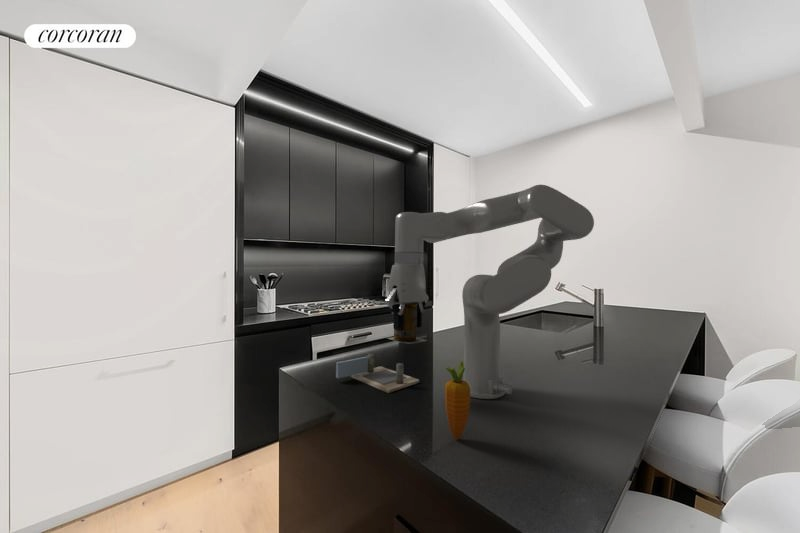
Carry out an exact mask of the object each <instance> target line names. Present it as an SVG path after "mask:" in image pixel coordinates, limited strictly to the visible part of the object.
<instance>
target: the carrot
mask: <svg viewBox="0 0 800 533" xmlns="http://www.w3.org/2000/svg"><path fill="white" fill-rule="evenodd" d="M445 369H446V371H448V372H449V374H450V376H451V377H452V379H451V380H449V381H447V382H446V383H445V385H444V391H445V393H444V397H445V398H444V400H445V401H444V402H445V403H444V404H445V412H446V417H447V423H448V425H449V430H450V432H451V434H452V436H453V438H454V440H456V441H458V440H459V439H460V438H461V436H462V435H463V433H464V431H465V428H466V426H467V423H468V419H469V414H470V406H471V405H470V404H471V397H470V386H469V385H468V383H467V382H466V381H463V376H464V370H465V368H464V361H461V360H460V361H458V370H457V371H456V369H455V367H453V366H452V367H450V366H446V367H445Z"/></svg>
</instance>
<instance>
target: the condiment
mask: <svg viewBox="0 0 800 533" xmlns="http://www.w3.org/2000/svg"><path fill="white" fill-rule="evenodd" d="M399 306H400V305H398V308H399ZM402 315H404V330H403V331H400V330H395V329H394V328H393V337H391V336H390V337H387V339H388V340H391V341H395V342H399V343H402V344H406V345H408V344H409V345H410V344H417V343H418V344H420V343H422V342H427V341H429V340H427V339H424V338H421V337H418V336H417V335H418V332H417V331H418V327H417V304H416V302H412V303H408V304H405V306H404V310H403V313H402Z"/></svg>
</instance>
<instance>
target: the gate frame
mask: <svg viewBox="0 0 800 533" xmlns="http://www.w3.org/2000/svg"><path fill="white" fill-rule="evenodd" d="M366 357H368V372H364V373H360V374H355V375H351V376H350V378H353V379H354V380H357V381H359V382H362V383H363V384H366V385H369V386H371V387H373V388H376V389H378V390H380V391H383V392H386V393H387V394H389V393H393V392H396V391H399V390H401V389H404V388H407V387H410V386H412V385H416V384H418V383H420V379H418V378H416V377H413V376H410V375H406V374H404V363H399V362H397V363H396V364H395V365H396V366H395V367H396V369H395V370H393V369H390V368H386V367H384V366H377V367H375V354H374V353H369V354H367V356H366Z"/></svg>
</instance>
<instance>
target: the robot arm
mask: <svg viewBox="0 0 800 533" xmlns="http://www.w3.org/2000/svg"><path fill="white" fill-rule="evenodd" d="M537 219H541V220H540V222H539V224H538V228H537V237H536V240H535V241H534V243H533V244H531V245H530V246H528V247H527V248H525V249H524V250H522V251H520V252H518V253H517V254H514V255H512V256H510V257H509V258H507V259H505V260H503V261H502V263H501V264H500V265H499V266H498V268H497V271H496V274H494V275H493V274H476V275H473V276H471V277H470V278H468V279H467V281H465V283H464V285H463V288H462V295H461V297H462V305H463V307H462V308H463V314H464V315H463V316H464V317H463V318H464V324H463V325H464V329H463V330H464V332H463V334H464V335H463V367H464V368H465V370H464V373H463V376H462V380H463V381H466V382H467V383H468V385H469V386H470V398H474V399H481V400H493V399H499V398H501V397H503V396H504V395H505V394H507V395H512V393H513V384H512V383H508V382H505V381H504V376H503V375H501V374H500V364H501V362H500V360H501V358H500V357H501V353H500V352H501V320H500V315H501V314H505V313H507V312H510V311H512V310H513V309H515V308H517V307H519V306H520V305H522V304H524V303H525V302H527V301H528V300H530V299H532V298H534V297H535V296H537V295H538V294H540V293H542V291H544V290H545V289H546V288H547V287H548V285H549V284H550V281H551V278H552V269H554V268H556V266H557V265H558V264H559V263H560V261H561V259H562V255H563V250H564V242H565V241H574V240H575V241H577V240H581V239H583V238H585V237H587V236H588V235H589V234H590V233H592V231H593V229H594V226H595V220H594V216H593V214H592V213H591V211H590V210H589V209H588V208H587V207H585V206H584V205H582V204H581V203H579V202H578V201H576V200H574V199H573V198H571V197H569V196H568V195H566V194H564V193H562V192H561V191H559V190H558V189H556V188H553V187H551V186H550V185H546V184H535V185H533V186H531V187H529V188H526V189H523V190H520V191H517V192H513V193H507V194H504V195H500V196H497V197H491V198H488V199H487V198H485V199H483V200H480V201H479V200H478V201H477V202H475V203H472V204H469V205H468V206H465V207H464V208H463V207H462V208H460V209H458V210H454V211H449V212H444V211H435V212H421V213H420V212H415V211H404V212H399V213H398V214H396V216H395V221H394V222H395V223H394V224H395V226H394V228H395V229H394V264H392V266H391V270H390V275H389V283H388V296H387V297H386V298H385V300H384V302H385V303H386V305H387V306H388V308H389V309H390V311H391V314H392V315H393V330H394V329H395V330H400V331H403V330H404V315H402V313H403V310H404V306H405V304H408V303H412V302H416V305H417V328H422V326H423V325H422V324H423V323H422V322H423V321H422V320H423V319H422V318H423V315H422V314H423V312H424V308H425V306H426V304H427V302H428V301H429V299H430V297H429V295H428V293H427V290H426V289H427V286H426V284H427V283H426V274H425V272H426V271H425V266H424V241H425V242H427V243H430V244H434V243H435V244H436V243H439V242H443V241H447V240H452V239H455V238H459V237H463V236H467V235H468V236H469V235H474V234H481V233H486V232H490V231H494V230H497V229H501V228H505V227H510V226H514V225H517V224H518V225H519V224H522V223H525V222H530V221H533V220H537ZM398 305H400V306H399V308H398Z"/></svg>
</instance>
